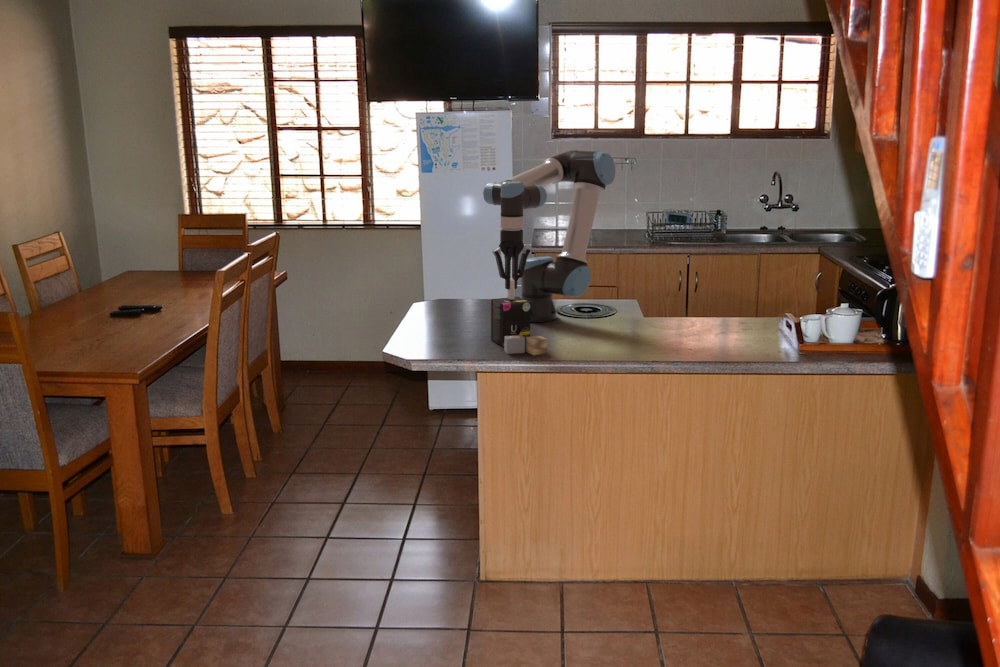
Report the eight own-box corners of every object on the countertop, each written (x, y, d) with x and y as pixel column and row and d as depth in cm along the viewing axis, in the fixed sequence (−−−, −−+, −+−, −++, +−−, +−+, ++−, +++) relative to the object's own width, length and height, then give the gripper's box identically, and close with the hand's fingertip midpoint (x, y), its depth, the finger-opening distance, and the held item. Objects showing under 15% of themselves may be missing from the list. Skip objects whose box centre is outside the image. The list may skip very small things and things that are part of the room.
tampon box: (502, 346, 299) (502, 304, 295) (490, 340, 307) (490, 298, 303) (531, 343, 304) (531, 301, 300) (518, 336, 312) (518, 295, 308)
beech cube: (538, 349, 296) (538, 334, 295) (546, 353, 292) (547, 338, 291) (525, 351, 294) (526, 336, 293) (533, 355, 290) (533, 340, 288)
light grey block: (522, 349, 296) (522, 334, 295) (524, 353, 292) (524, 337, 291) (504, 350, 295) (504, 335, 294) (506, 353, 291) (506, 338, 290)
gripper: (526, 226, 301) (525, 294, 307) (489, 228, 297) (489, 297, 303) (534, 229, 294) (533, 299, 300) (496, 231, 290) (496, 302, 296)
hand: (510, 298), depth 302 cm, fingers closed
